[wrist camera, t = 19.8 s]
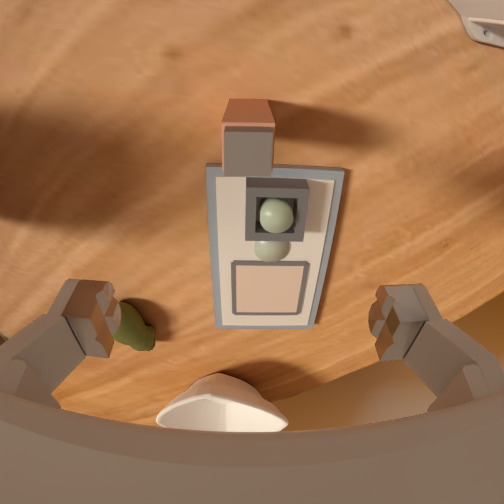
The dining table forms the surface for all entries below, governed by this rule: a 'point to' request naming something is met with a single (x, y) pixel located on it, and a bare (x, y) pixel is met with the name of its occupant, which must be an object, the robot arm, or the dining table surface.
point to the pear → (134, 330)
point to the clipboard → (269, 252)
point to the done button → (275, 214)
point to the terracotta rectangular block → (248, 138)
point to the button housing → (276, 190)
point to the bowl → (222, 408)
